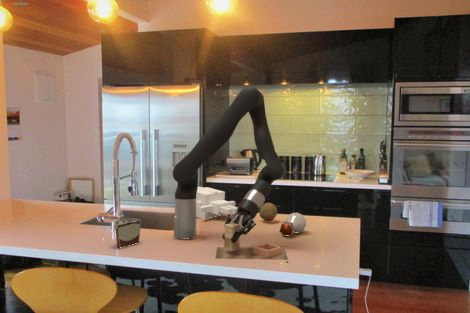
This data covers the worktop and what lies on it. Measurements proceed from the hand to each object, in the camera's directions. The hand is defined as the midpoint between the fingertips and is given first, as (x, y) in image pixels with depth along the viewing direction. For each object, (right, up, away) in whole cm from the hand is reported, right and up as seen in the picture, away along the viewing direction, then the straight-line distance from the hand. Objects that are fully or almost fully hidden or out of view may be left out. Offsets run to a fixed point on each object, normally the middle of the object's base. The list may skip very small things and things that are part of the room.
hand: (228, 240), depth 159 cm
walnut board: (+8, -7, +2) cm, 11 cm away
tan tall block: (+1, -3, +2) cm, 4 cm away
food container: (-42, -5, +16) cm, 46 cm away
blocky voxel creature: (-9, -2, +69) cm, 70 cm away
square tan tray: (+15, -5, +2) cm, 15 cm away
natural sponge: (+19, -3, +59) cm, 63 cm away
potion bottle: (+29, -5, +36) cm, 47 cm away
